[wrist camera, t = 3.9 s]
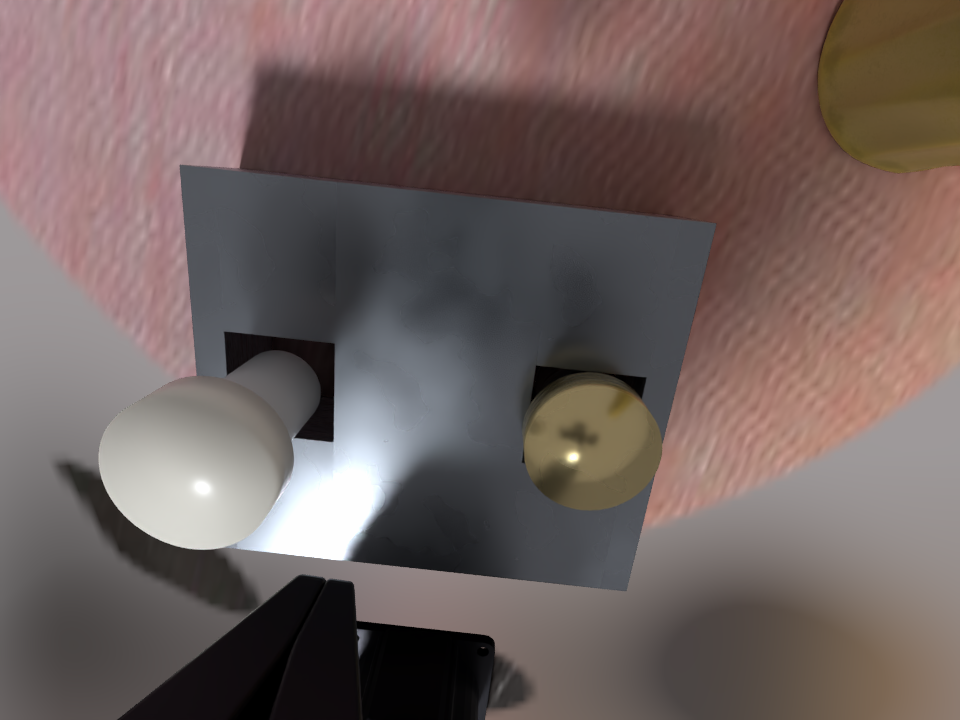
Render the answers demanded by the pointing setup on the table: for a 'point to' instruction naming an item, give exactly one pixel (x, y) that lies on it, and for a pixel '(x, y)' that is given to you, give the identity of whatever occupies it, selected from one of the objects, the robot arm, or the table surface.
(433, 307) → the mount
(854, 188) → the table surface
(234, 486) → the knob ivory
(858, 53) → the vase
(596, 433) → the knob brass
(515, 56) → the table surface
